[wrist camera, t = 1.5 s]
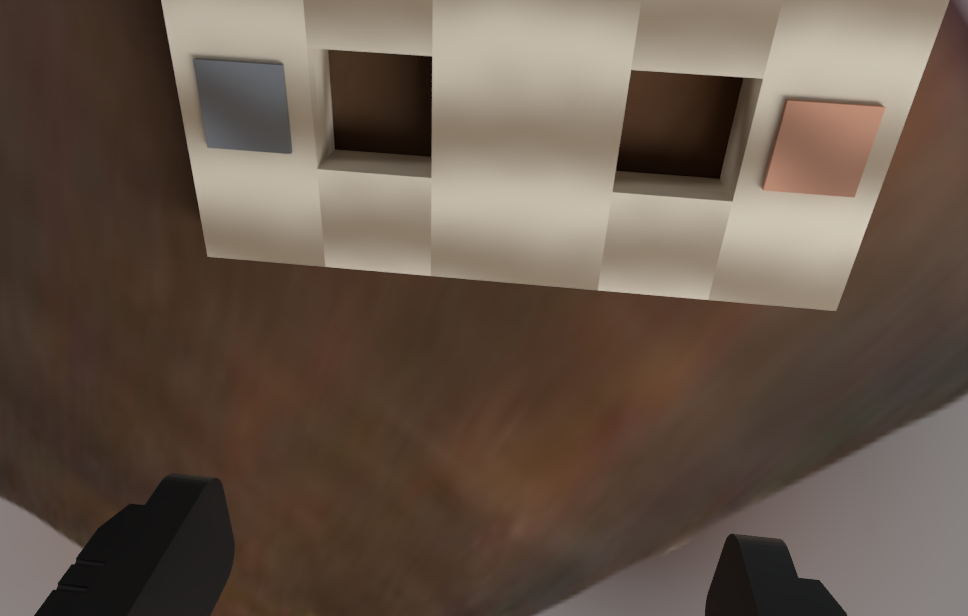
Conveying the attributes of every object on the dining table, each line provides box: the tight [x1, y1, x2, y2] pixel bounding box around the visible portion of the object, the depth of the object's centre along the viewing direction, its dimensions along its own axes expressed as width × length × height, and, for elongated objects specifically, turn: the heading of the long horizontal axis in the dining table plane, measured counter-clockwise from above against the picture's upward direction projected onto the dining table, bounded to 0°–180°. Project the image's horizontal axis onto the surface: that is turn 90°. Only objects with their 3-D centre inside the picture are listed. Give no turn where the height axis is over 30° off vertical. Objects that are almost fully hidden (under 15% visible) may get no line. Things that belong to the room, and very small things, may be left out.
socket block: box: [161, 0, 949, 311], centre depth 32 cm, size 16×32×3 cm, turn 87°
